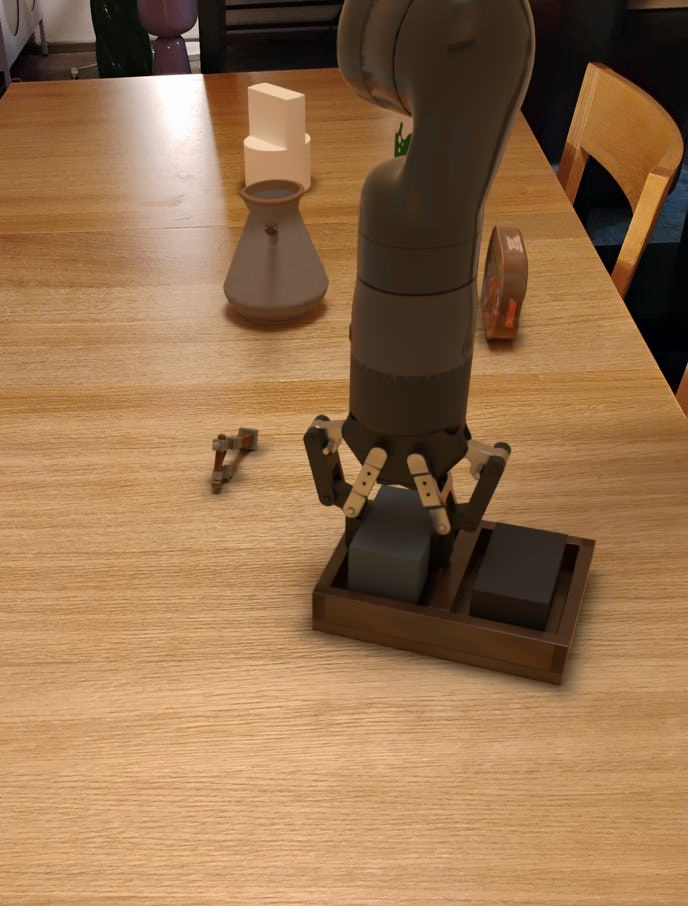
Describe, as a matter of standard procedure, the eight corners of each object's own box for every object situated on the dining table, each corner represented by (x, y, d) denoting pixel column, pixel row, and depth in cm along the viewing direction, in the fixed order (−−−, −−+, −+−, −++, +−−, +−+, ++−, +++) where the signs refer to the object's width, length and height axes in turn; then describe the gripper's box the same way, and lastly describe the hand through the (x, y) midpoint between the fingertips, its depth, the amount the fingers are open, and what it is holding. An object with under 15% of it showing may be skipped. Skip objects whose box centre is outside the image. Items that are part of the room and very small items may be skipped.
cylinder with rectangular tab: (324, 185, 141) (324, 89, 133) (271, 203, 137) (268, 105, 129) (284, 170, 146) (282, 77, 138) (232, 186, 143) (227, 92, 135)
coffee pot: (227, 289, 118) (219, 152, 108) (327, 285, 117) (328, 146, 107) (216, 380, 103) (205, 230, 92) (332, 376, 101) (333, 224, 91)
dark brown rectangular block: (559, 577, 75) (568, 533, 72) (539, 648, 70) (548, 604, 67) (490, 564, 77) (496, 521, 74) (466, 632, 71) (471, 588, 69)
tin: (479, 289, 113) (488, 212, 108) (509, 289, 113) (519, 212, 107) (487, 354, 103) (498, 272, 97) (520, 354, 102) (532, 271, 96)
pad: (444, 539, 77) (448, 495, 74) (416, 605, 72) (420, 560, 69) (379, 527, 79) (381, 484, 76) (347, 591, 73) (348, 546, 71)
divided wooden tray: (587, 577, 76) (596, 539, 74) (560, 685, 68) (569, 647, 66) (360, 534, 82) (362, 497, 80) (311, 628, 74) (311, 592, 72)
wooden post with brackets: (201, 487, 87) (206, 434, 86) (235, 474, 94) (240, 424, 93) (220, 491, 86) (226, 437, 85) (253, 477, 94) (259, 427, 92)
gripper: (541, 329, 63) (507, 548, 75) (320, 303, 68) (320, 513, 80) (517, 387, 58) (484, 612, 70) (281, 355, 63) (286, 570, 75)
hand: (397, 558), depth 75 cm, fingers closed on pad, 5 cm apart
